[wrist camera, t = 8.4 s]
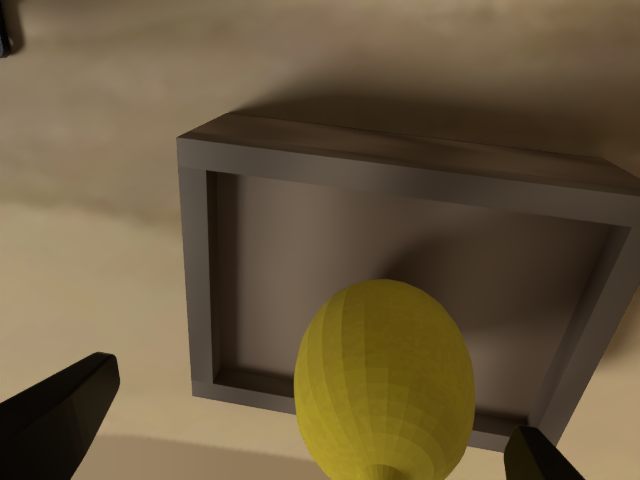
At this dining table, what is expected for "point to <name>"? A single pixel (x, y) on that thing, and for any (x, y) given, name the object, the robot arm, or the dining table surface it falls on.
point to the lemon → (384, 385)
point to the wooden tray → (404, 256)
